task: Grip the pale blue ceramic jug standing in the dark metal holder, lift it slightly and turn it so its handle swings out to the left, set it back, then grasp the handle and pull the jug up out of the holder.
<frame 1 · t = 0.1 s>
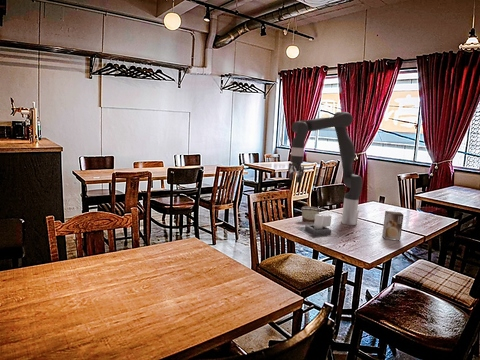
hand: (294, 181, 226), 29 cm above the table, tool pointing down, fingers open, 8 cm apart
holder: (317, 232, 223), on the table
food container: (308, 222, 246), on the table
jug: (317, 231, 223), point 1 cm above the table, touching holder
coffee box: (390, 238, 222), on the table
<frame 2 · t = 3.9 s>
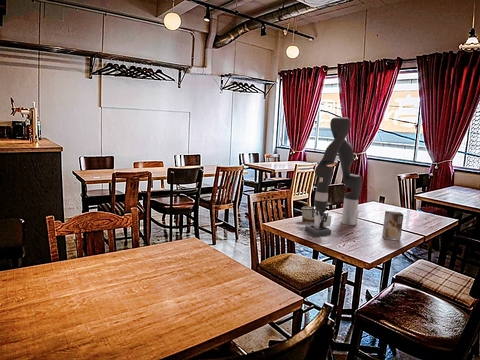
hand: (318, 226, 222), 4 cm above the table, tool pointing down, fingers closed on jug, 5 cm apart
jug: (317, 231, 223), point 1 cm above the table, touching gripper, holder
everything else where it was.
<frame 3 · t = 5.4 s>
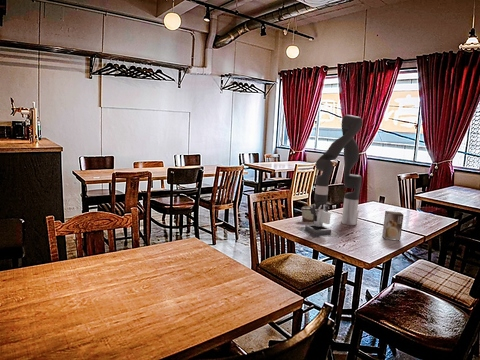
hand: (318, 220, 222), 8 cm above the table, tool pointing down, fingers closed on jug, 5 cm apart
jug: (317, 225, 223), point 5 cm above the table, touching gripper
everything else where it was.
when the fingers open (5 cm above the table, at t = 6.9 s): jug stays where it is, resting on holder.
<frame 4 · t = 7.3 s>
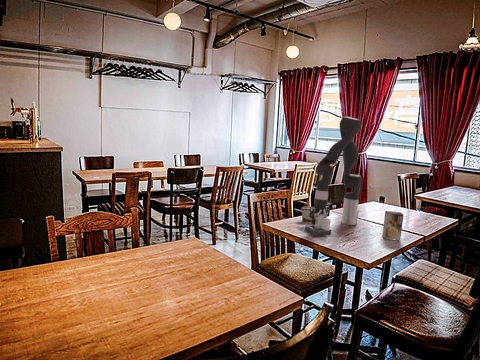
hand: (318, 224, 222), 6 cm above the table, tool pointing down, fingers open, 8 cm apart
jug: (317, 231, 223), point 1 cm above the table, touching holder
everything else where it was.
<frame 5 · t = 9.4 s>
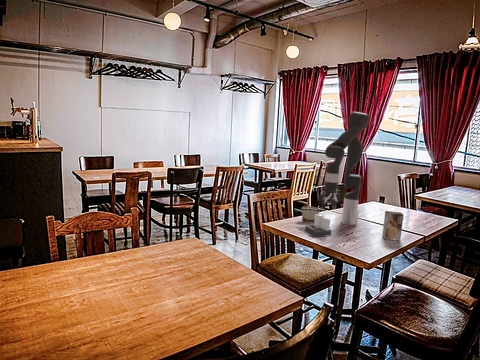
hand: (328, 208, 215), 17 cm above the table, tool pointing down, fingers open, 8 cm apart
nothing on the table moved.
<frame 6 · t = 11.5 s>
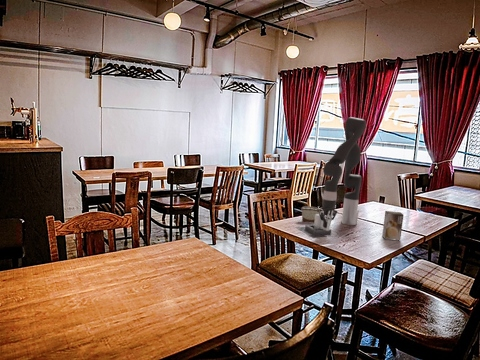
hand: (326, 227, 217), 6 cm above the table, tool pointing down, fingers closed on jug
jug: (317, 231, 223), point 1 cm above the table, touching gripper
everything else where it was.
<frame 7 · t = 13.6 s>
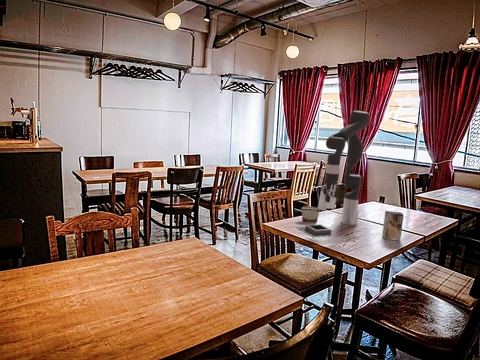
hand: (329, 201, 214), 21 cm above the table, tool pointing down, fingers closed on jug
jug: (322, 208, 219), point 16 cm above the table, tilted 7°, touching gripper
everything else where it was.
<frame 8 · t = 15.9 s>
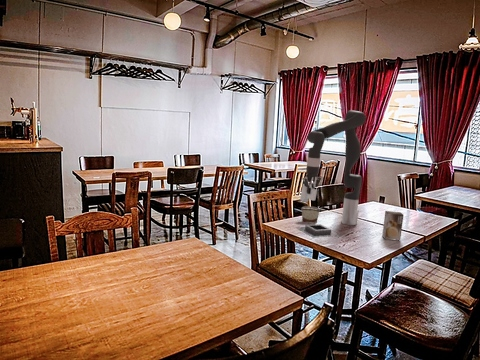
hand: (310, 193, 223), 23 cm above the table, tool pointing down, fingers closed on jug
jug: (304, 200, 228), point 18 cm above the table, tilted 8°, touching gripper
everything else where it was.
at the end: the gripper is holding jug; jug point 17.7 cm above the table; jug touching gripper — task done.
